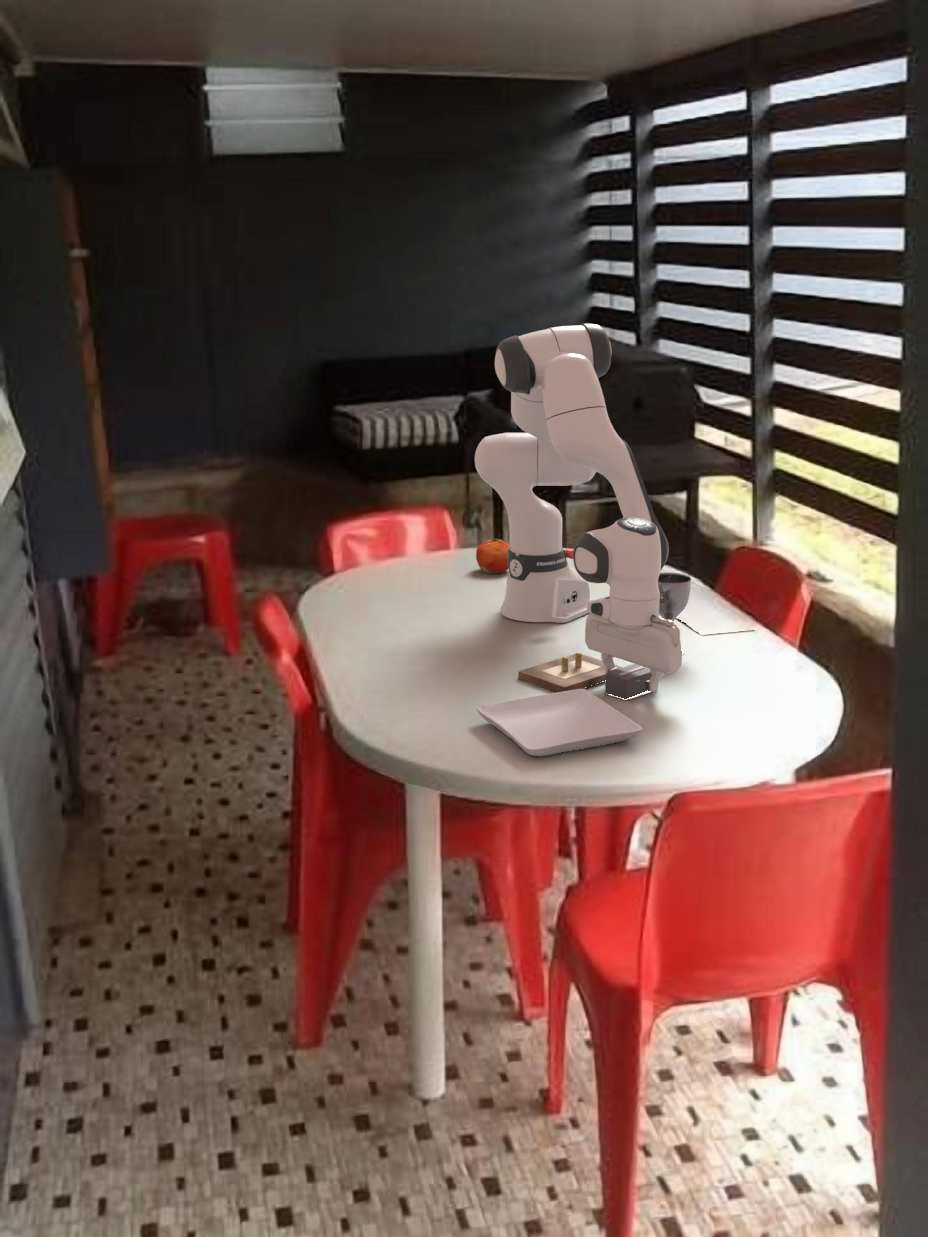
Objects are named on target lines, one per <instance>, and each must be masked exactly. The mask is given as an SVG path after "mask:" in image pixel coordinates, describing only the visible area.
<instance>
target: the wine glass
mask: <svg viewBox="0 0 928 1237" xmlns="http://www.w3.org/2000/svg"><path fill="white" fill-rule="evenodd" d="M691 585H692V578H691V576H689V575H687V574H683V573H677V572H660V575H659V578H658V588H659V592H660V601H659V617H661V618H663V619H666V620H671V621H673V622H675V620H676V619H677V618H676V617H677V616H678V615H679V614H680V613H681V612H682V611H683V610H684V609H685V607H686V605H688V602H689V600H690V594H691V587H692V586H691Z"/></svg>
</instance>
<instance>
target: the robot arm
mask: <svg viewBox="0 0 928 1237" xmlns="http://www.w3.org/2000/svg"><path fill="white" fill-rule="evenodd" d="M612 353H613V352H612V346H611V341H610V339H609V336H608V334H607V332H606V330H605V329H604V328H603V327H602V326H600V325H599V324H596V323H595V324H594V323H581V324H580V325H562V326H554V327H548V328H546V329H542V330H541V329H540V330H536V331H532V332H528V333H525V334H522V335H519V336H518V335H512V336H510V337H507V338H505V339H503V340H501V341H500V342H499V344H498V345H497V347H496V350H495V357H494V369H495V374H496V376H497V378H498V380H499V382H500V385H501V386H502V387H503V388H504V389H506V390H507V391H508V392H510V395H511V396H510V399H511V400H510V414H511V417H512V419H513V421H514V422H515V424H516V425H517V426H518V427H519V428H520V429H521V430H522V431H524V432H503V433H498V434H491V435H488V436H484V437H483V438H482V439H481V441H480V442H479V443H478V445H477V447H476V449H475V453H474V467H475V469H476V472H477V474H478V476H479V477H480V478H481V479H482V480H483V481H484V482H485V483H487V484H488V485H489V486H490V487H492V488H493V489H494V490H495V492H496V493H497V494H498V495H499V497H500V499H501V501H503V504H504V506H505V509H506V512H507V517H508V518H507V519H508V526H509V527H508V528H509V545H510V548H509V549H508V555H507V558H508V568H509V569H508V570H507V571H508V572H507V577H506V578H507V579H506V587H505V588H506V589H505V594H504V600H503V601H502V608H501V614H502V616H504V617H505V618H508V619H510V620H514V621H517V622H519V621H520V622H526V623H558V624H560V623H562V624H564V623H568V622H571V621H572V620H575V619H578V618H580V617H583V616H584V615H587V614H588V615H587V617H586V620H585V628H584V629H585V630H584V631H585V632H584V640H585V641H584V642H585V644H586V647H587V648H588V649H589V650H590V651H591V650H592V651H594V652H597V653H601V654H600V660H602V661H603V663H604V666H605V668H606V673H608V672H611V671H614V670H617V669H618V668H617V667H615V665H616V664H615V662H614V661H615V660H614V658H616V659H619V660H623V661H626V662H629V663H632V664H638V665H641V666H644V667H647V668H650V673H651V674H653V675H652V677H651V679H650V680H647V681H645V685H646V687H645V689H646V690H648V691H651V693H654V692H657V691H658V689H659V681H660V680H661V679H662V677H663V675H664V673H665V674H670V673H673V672H676V671H678V670H679V669H680V668H681V667H682V663H683V657H682V656H683V655H682V651H681V648H682V641H681V631H680V628H679V627H678V625H677V624H675V621H671V620H666V619H663V618H662V617H661V616H660V615H659V601H660V592H659V588H658V578H659V575H660V573H662V570H663V568H664V567H665V564H666V563H667V560H668V558H669V551H670V547H669V541H668V538H667V537H666V534H665V532H664V530H663V528H662V527H661V525H660V523H659V520H658V518H657V516H656V514H655V511H654V508H653V506H652V502H651V500H650V498H649V493H648V491H647V488H646V486H645V483H644V481H643V478H642V475H641V472H640V469H639V466H638V463H637V461H636V458H635V455H634V454H633V451H632V448H631V447H630V445H629V444H628V442H626V440H624V439H622V438H621V437H620V435H618V433H617V432H616V430H615V428H614V426H613V424H612V423H611V420H610V417H609V414H608V410H607V405H606V400H605V397H604V393H603V389H602V387H601V383H600V381H599V379H600V377H602V376H604V375H606V374H607V372H608V370H610V367H611V363H612ZM596 473H598V474H600V475H601V476H603V477H604V478H606V480H608V482H609V483H610V484H611V487H612V489H613V491H614V494H615V497H616V501H617V503H618V505H619V510H620V512H621V514H622V516H623V517H621V518H620V519H617V520H616V521H615V522H614V523H613V524H611V525H610V526H609V525H608V526H607V527H604V528H603V527H602V528H599V529H594V530H590V531H587V532H584V533H582V534H581V535H579V537H577V540H576V541H575V544H574V548H573V549H570V548H566V549H564V548H563V516H562V513H561V512H560V510H559V509H558V508H557V507H556V506H555V505H553V504H552V503H549V502H548V501H545V500H544V499H541V498H539V496H537V495H536V494H535V493H534V492H533V488H534V487H537V486H540V487H541V486H547V487H549V486H552V487H553V486H557V487H559V486H561V487H562V486H564V487H565V486H572V485H579V484H583V483H587V482H588V483H589V482H590V481H591V480H592V479H593V477H594V476H595V475H596ZM568 558H569V559H571V560H572V561H573V564H574V565H573V566H574V568H575V569H573V567H571V566H569V563H568V560H567V559H568ZM589 583H593V584H607V585H608V586H609V588H610V589H609V596H604V597H602V598H598V599H595V598H592V597H591V592H590V584H589Z"/></svg>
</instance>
